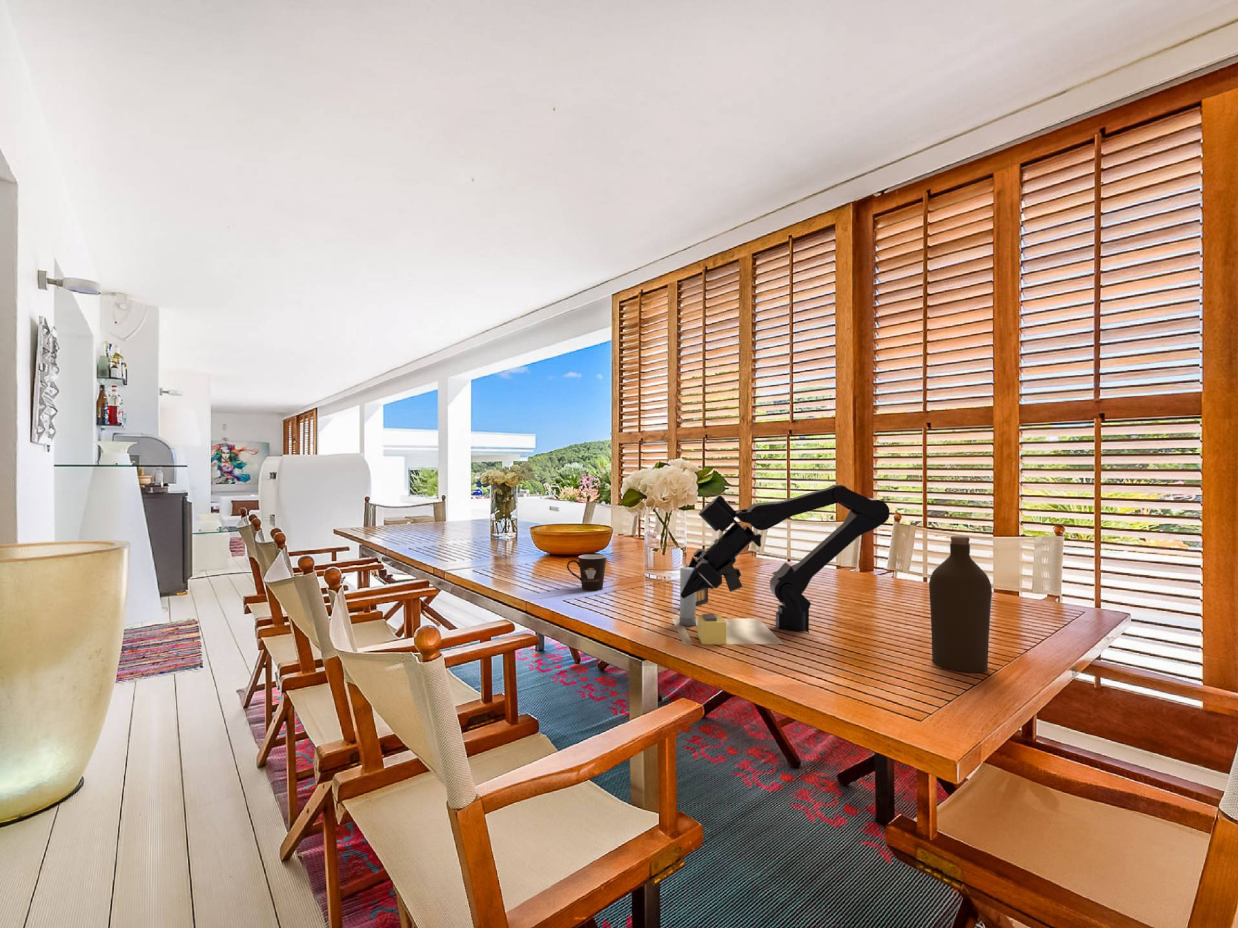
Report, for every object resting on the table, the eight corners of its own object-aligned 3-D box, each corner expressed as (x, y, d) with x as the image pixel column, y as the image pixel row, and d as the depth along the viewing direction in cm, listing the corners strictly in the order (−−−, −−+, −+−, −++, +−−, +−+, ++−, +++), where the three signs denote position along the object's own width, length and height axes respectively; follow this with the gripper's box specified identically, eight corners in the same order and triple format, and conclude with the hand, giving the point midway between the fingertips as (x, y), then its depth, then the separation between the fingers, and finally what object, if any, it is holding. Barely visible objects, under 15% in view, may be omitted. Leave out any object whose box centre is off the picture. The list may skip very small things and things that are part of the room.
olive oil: (946, 673, 110) (947, 540, 110) (918, 655, 121) (919, 533, 121) (1004, 674, 110) (1004, 540, 110) (970, 655, 121) (971, 533, 120)
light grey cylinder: (694, 621, 140) (694, 567, 140) (697, 626, 136) (697, 569, 136) (678, 621, 140) (678, 567, 140) (680, 626, 136) (681, 569, 136)
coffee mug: (611, 587, 184) (611, 556, 184) (595, 593, 177) (596, 559, 177) (581, 583, 190) (581, 552, 190) (565, 588, 183) (565, 556, 183)
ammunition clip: (687, 609, 158) (687, 564, 158) (681, 608, 159) (682, 563, 159) (708, 602, 166) (708, 559, 166) (702, 601, 167) (703, 558, 167)
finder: (720, 635, 129) (720, 612, 129) (726, 644, 123) (726, 619, 123) (697, 635, 129) (697, 612, 129) (702, 644, 123) (702, 619, 123)
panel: (757, 624, 143) (757, 618, 143) (783, 650, 123) (783, 643, 123) (671, 624, 142) (671, 618, 142) (683, 651, 122) (683, 644, 122)
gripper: (760, 579, 127) (708, 629, 128) (749, 562, 145) (703, 605, 147) (723, 542, 127) (672, 592, 129) (717, 530, 146) (672, 573, 147)
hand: (681, 591), depth 138 cm, fingers open, 9 cm apart
